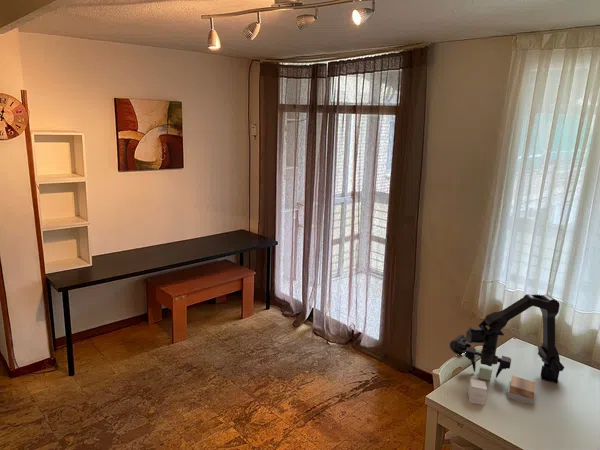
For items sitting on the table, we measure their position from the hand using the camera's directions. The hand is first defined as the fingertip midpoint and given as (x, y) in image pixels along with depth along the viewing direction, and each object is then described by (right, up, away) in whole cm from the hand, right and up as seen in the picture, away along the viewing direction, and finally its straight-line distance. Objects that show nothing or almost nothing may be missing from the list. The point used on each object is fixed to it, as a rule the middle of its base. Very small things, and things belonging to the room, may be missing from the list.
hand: (485, 374), depth 204 cm
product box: (-11, -5, -17) cm, 21 cm away
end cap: (-3, +4, +23) cm, 24 cm away
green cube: (0, -1, 0) cm, 1 cm away
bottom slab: (+10, -5, -12) cm, 17 cm away
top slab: (+10, -2, -13) cm, 17 cm away
